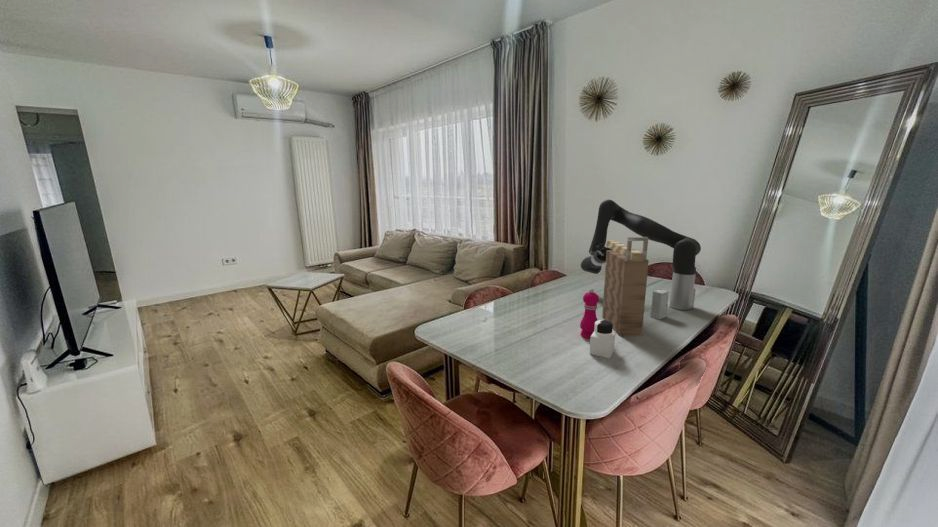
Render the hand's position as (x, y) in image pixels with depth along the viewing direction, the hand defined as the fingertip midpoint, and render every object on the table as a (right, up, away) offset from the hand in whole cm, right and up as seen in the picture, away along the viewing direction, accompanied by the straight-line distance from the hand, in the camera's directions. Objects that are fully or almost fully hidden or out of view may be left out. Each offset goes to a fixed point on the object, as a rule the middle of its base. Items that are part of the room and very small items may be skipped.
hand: (611, 245), depth 163 cm
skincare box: (+21, -33, 0) cm, 39 cm away
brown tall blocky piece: (0, -35, -9) cm, 36 cm away
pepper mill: (-16, -38, -18) cm, 45 cm away
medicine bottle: (-16, -41, -32) cm, 54 cm away
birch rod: (0, -4, -12) cm, 13 cm away
